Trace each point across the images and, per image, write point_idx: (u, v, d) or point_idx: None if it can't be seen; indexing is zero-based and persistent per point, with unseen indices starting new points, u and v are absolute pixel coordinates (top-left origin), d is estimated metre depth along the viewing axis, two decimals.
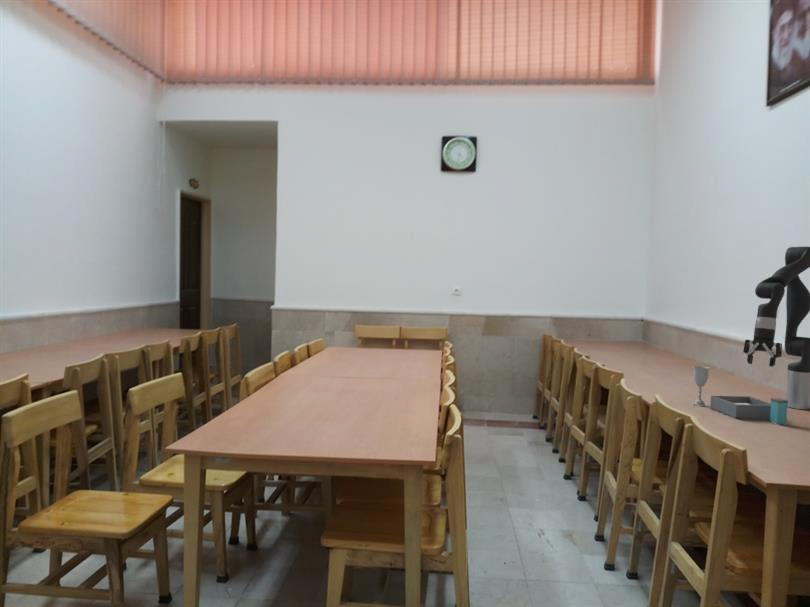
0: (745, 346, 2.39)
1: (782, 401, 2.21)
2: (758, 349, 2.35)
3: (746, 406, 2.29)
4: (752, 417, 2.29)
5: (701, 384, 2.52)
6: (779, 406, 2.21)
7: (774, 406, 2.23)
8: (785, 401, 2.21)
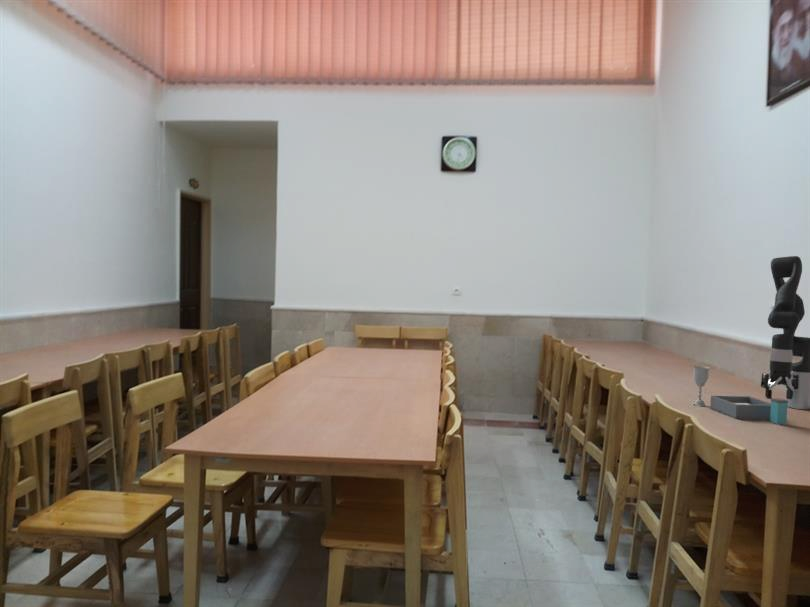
0: (766, 381, 2.22)
1: (782, 401, 2.21)
2: (779, 383, 2.22)
3: (746, 406, 2.29)
4: (752, 417, 2.29)
5: (701, 384, 2.52)
6: (779, 406, 2.21)
7: (774, 406, 2.23)
8: (785, 401, 2.21)
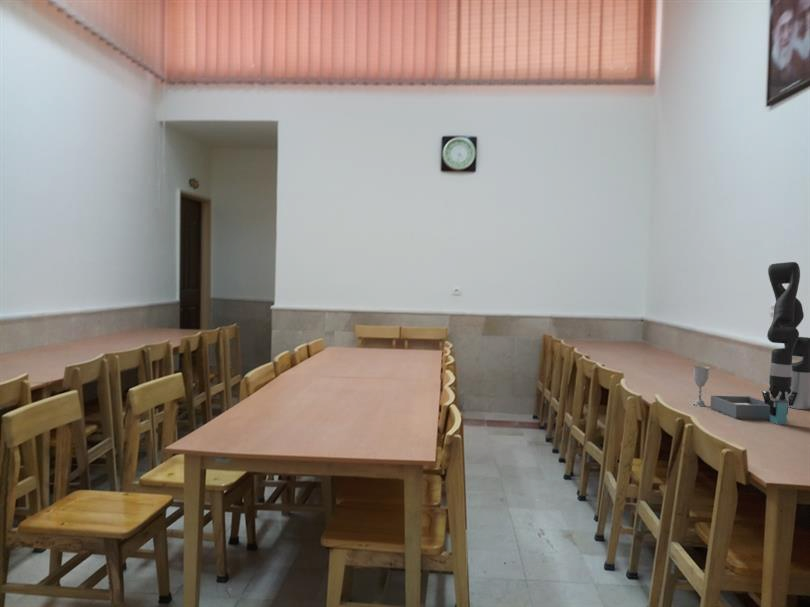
0: (769, 399, 2.22)
1: (782, 401, 2.21)
2: (781, 397, 2.22)
3: (746, 406, 2.29)
4: (752, 417, 2.29)
5: (701, 384, 2.52)
6: (780, 406, 2.21)
7: None
8: (785, 401, 2.21)
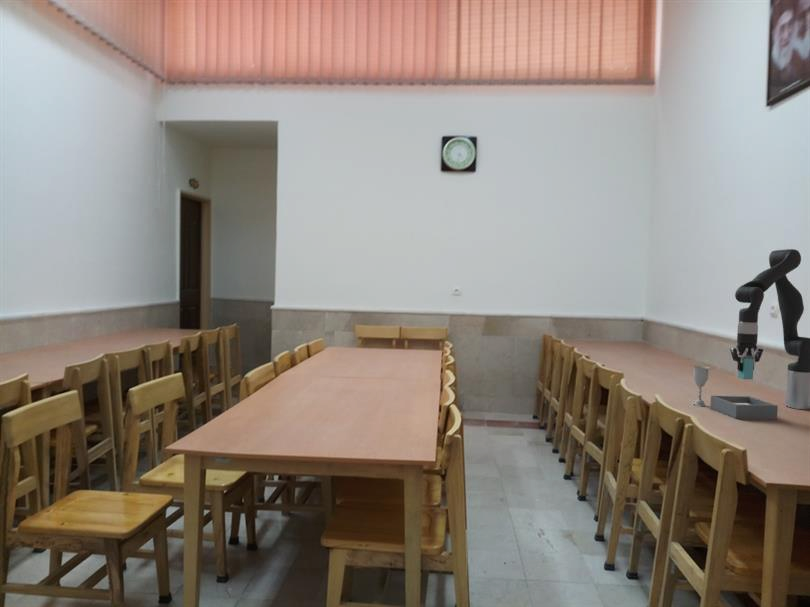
0: (736, 355, 2.36)
1: (749, 357, 2.35)
2: (747, 353, 2.36)
3: (746, 406, 2.29)
4: (752, 417, 2.29)
5: (701, 384, 2.52)
6: (746, 362, 2.35)
7: None
8: (751, 357, 2.35)
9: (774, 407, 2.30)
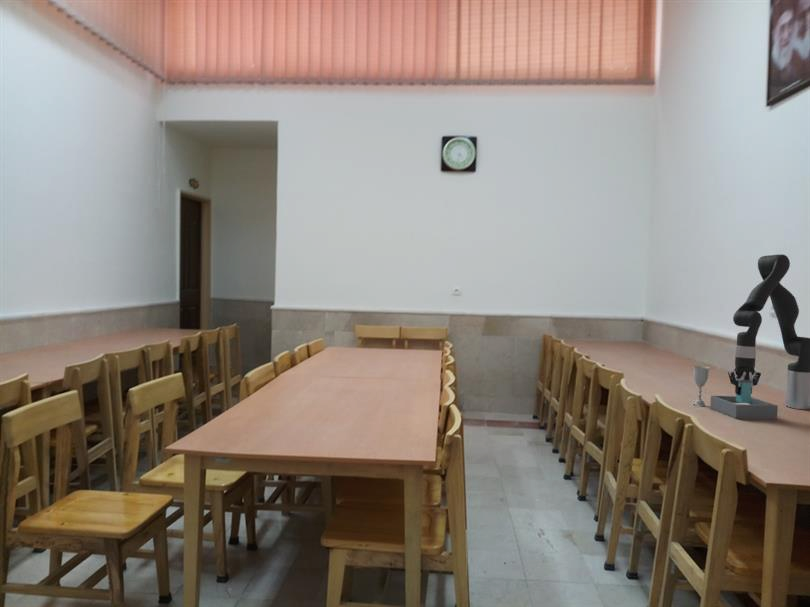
0: (734, 379, 2.36)
1: (746, 381, 2.36)
2: (745, 377, 2.37)
3: (746, 406, 2.29)
4: (752, 417, 2.29)
5: (701, 384, 2.52)
6: (744, 385, 2.36)
7: None
8: (749, 381, 2.36)
9: (774, 407, 2.30)
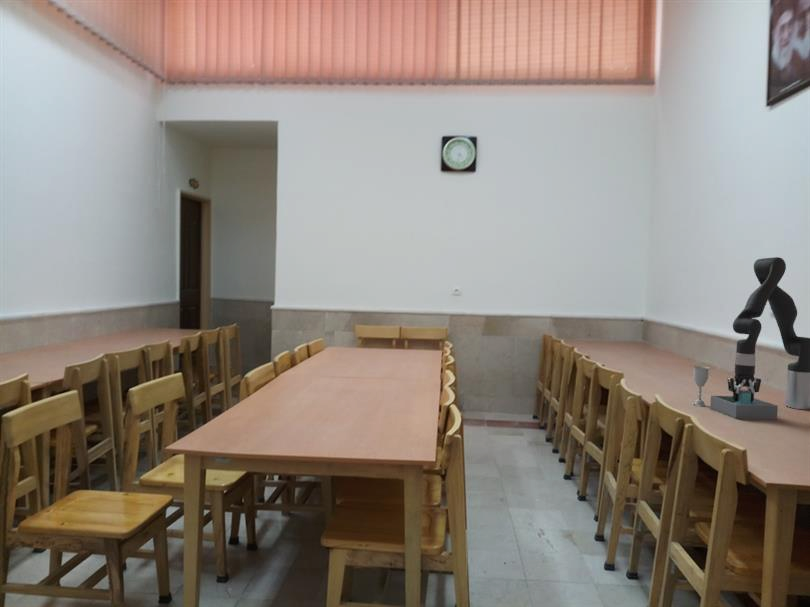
0: (732, 385, 2.37)
1: (746, 392, 2.36)
2: (744, 385, 2.37)
3: (746, 406, 2.29)
4: (752, 417, 2.29)
5: (701, 384, 2.52)
6: (743, 396, 2.36)
7: (739, 396, 2.38)
8: (749, 392, 2.36)
9: (774, 407, 2.30)
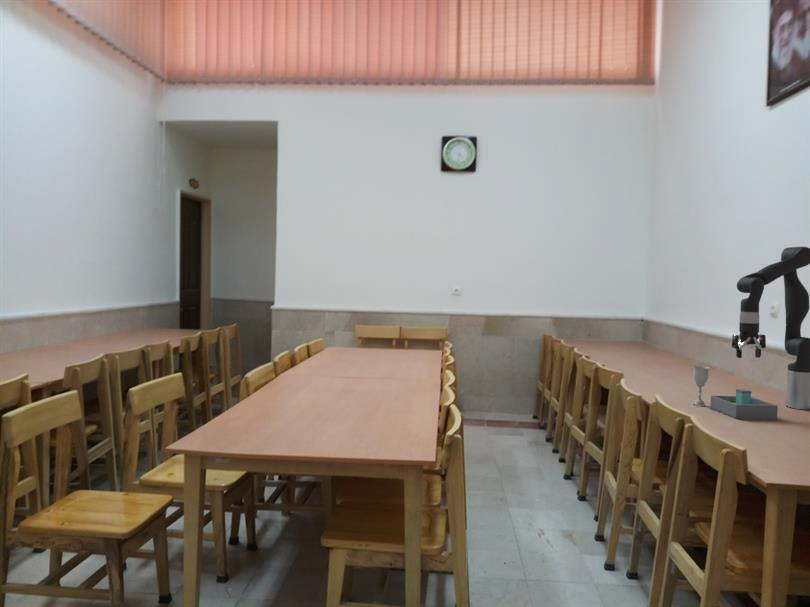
0: (736, 342, 2.41)
1: (746, 392, 2.36)
2: (748, 343, 2.42)
3: (746, 406, 2.29)
4: (752, 417, 2.29)
5: (701, 384, 2.52)
6: (743, 396, 2.36)
7: (739, 396, 2.38)
8: (749, 392, 2.36)
9: (774, 407, 2.30)
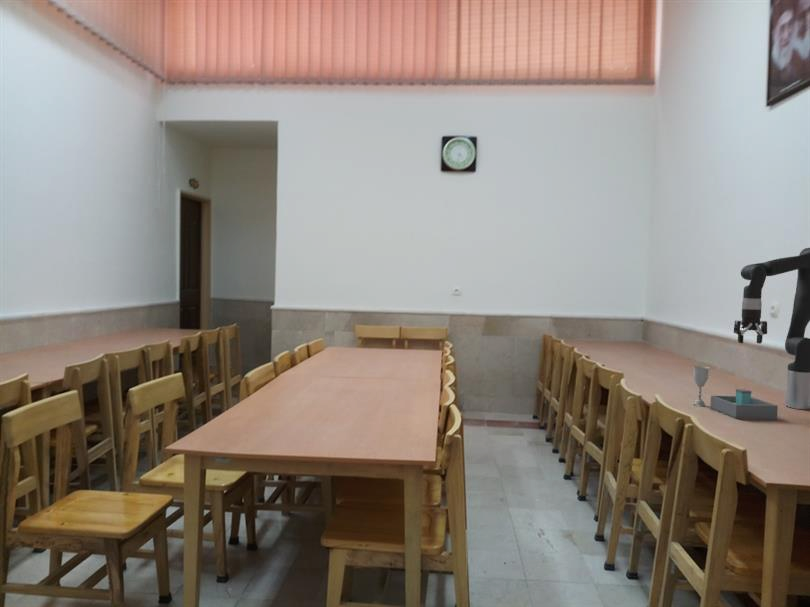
0: (738, 327, 2.48)
1: (746, 392, 2.36)
2: (749, 329, 2.48)
3: (746, 406, 2.29)
4: (752, 417, 2.29)
5: (701, 384, 2.52)
6: (743, 396, 2.36)
7: (739, 396, 2.38)
8: (749, 392, 2.36)
9: (774, 407, 2.30)
